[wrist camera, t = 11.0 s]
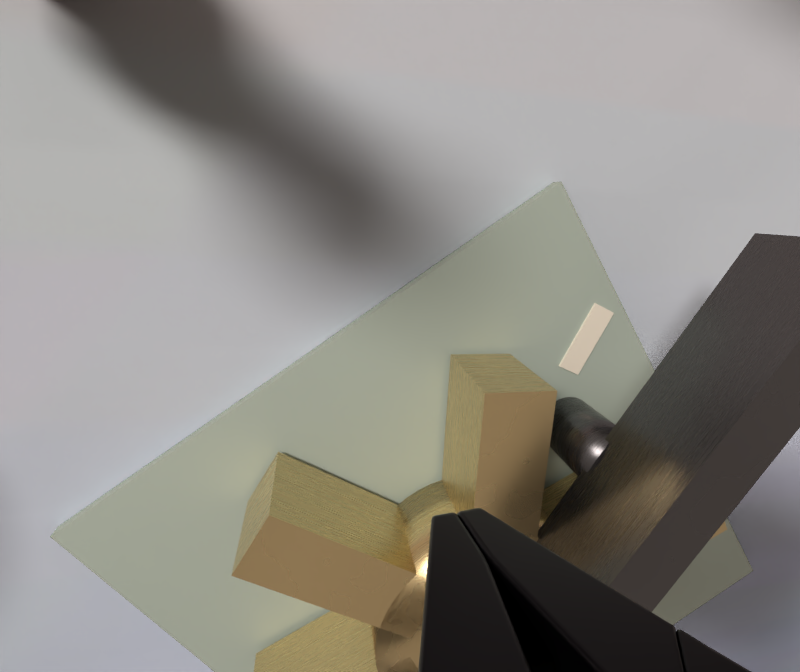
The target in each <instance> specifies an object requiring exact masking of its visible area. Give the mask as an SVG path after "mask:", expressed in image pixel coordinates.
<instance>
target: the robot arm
mask: <svg viewBox="0 0 800 672" xmlns="http://www.w3.org/2000/svg"><path fill="white" fill-rule="evenodd" d="M418 672H751V671H749V670H747V669H746V668H744V667H742V666H741V665H739V664H737V663H735V662H734V661H732V660H730V659H729V658H727V657H725V656H724V655H722V654H720V653H718V652H717V651H715V650H713V649H712V648H710V647H708V646H707V645H705V644H703V643H702V642H700V641H698V640H697V639H695V638H693V637H692V636H690V635H689V634H687V633H685V632H684V631H682V630H677V631H676V629H675V627H674V626H673V625H672V624H670V623H669V622H667V621H665V620H664V619H662V618H660V617H659V616H657V615H655V614H654V613H652V612H651V611H649V610H647V609H646V608H644V607H642V606H641V605H639V604H637V603H636V602H634V601H632V600H631V599H629V598H628V597H626V596H624V595H623V594H621V593H619V592H618V591H616V590H614V589H613V588H611V587H610V586H608V585H606V584H605V583H603V582H601V581H600V580H598V579H596V578H595V577H593V576H592V575H590V574H588V573H587V572H585V571H583V570H582V569H580V568H578V567H577V566H575V565H573V564H572V563H570V562H569V561H567V560H565V559H564V558H562V557H560V556H559V555H557V554H555V553H554V552H552V551H551V550H549V549H547V548H546V547H544V546H542V545H541V544H539V543H537V542H536V541H534V540H533V539H531V538H529V537H528V536H526V535H524V534H523V533H521V532H519V531H518V530H516V529H515V528H513V527H511V526H510V525H508V524H506V523H505V522H503V521H501V520H500V519H498V518H496V517H495V516H493V515H492V514H490V513H488V512H487V511H485V510H483V509H481V508H474V509H468V510H463V511H459V512H458V513H457V514H456V513H446V514H440V515H435V516H433V517H432V519H431V529H430V540H429V552H428V563H427V575H426V587H425V598H424V610H423V621H422V633H421V644H420V656H419V667H418Z"/></svg>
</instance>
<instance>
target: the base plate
mask: <svg viewBox="0 0 800 672" xmlns="http://www.w3.org/2000/svg"><path fill="white" fill-rule="evenodd" d="M451 354H511V355H512V356H514V357H515V358H516V359H517V360H519V361H520V362H521V363H522V364H524V365H525V366H526V367H528V368H529V369H530V370H531V371H533V372H534V373H535V374H537V375H538V376H539V377H540V378H542V379H543V380H544V381H545V382H547V383H548V384H549V385H551V386H552V387H553V388H554V389H556V390H557V398H556V401H557V400H559V399H561V398H565V397H576V398H579V399H581V400H583V401H584V402H585V403H587V404H588V405H589V406H591V407H592V408H593V409H595V410H596V411H598V412H599V413H600V414H602V415H603V416H604V417H606V418H607V419H608V420H610V421H611V422H612V423H614V424H615V425H616V423H617V422H618V421H619V419H620V418H621V417H622V415H623V414H624V412H625V411H626V410H627V408H628V407H629V406H630V404H631V403H632V401H633V400H634V399H635V397H636V396H637V395H638V393H639V392H640V391H641V389H642V388H643V386H644V385H645V384H646V382H647V381H648V380H649V378H650V377H651V375H652V374H653V373H654V369H653V367H652V365H651V363H650V361H649V359H648V357H647V355H646V353H645V350H644V348H643V346H642V344H641V342H640V340H639V338H638V336H637V334H636V332H635V330H634V328H633V326H632V324H631V322H630V320H629V318H628V316H627V314H626V312H625V310H624V308H623V306H622V304H621V302H620V300H619V298H618V296H617V294H616V292H615V290H614V288H613V286H612V284H611V282H610V280H609V278H608V275H607V273H606V271H605V269H604V267H603V265H602V263H601V261H600V259H599V257H598V255H597V253H596V251H595V249H594V247H593V245H592V243H591V241H590V239H589V237H588V235H587V233H586V231H585V229H584V227H583V225H582V223H581V221H580V219H579V217H578V215H577V213H576V211H575V209H574V207H573V205H572V203H571V200H570V198H569V196H568V194H567V192H566V190H565V188H564V186H563V184H562V182H553V183H552V184H551V185H549V186H548V187H546V188H545V189H543V190H542V191H541V192H539V193H538V194H536V195H535V196H533V197H532V198H530V199H529V200H528V201H526V202H525V203H523V204H522V205H520V206H519V207H517V208H516V209H515V210H513V211H512V212H510V213H509V214H507V215H506V216H505V217H503V218H502V219H500V220H499V221H497V222H496V223H494V224H493V225H492V226H490V227H489V228H487V229H486V230H484V231H483V232H482V233H480V234H479V235H477V236H476V237H474V238H473V239H471V240H470V241H469V242H467V243H466V244H464V245H463V246H461V247H460V248H458V249H457V250H456V251H454V252H453V253H451V254H450V255H448V256H447V257H446V258H444V259H443V260H441V261H440V262H438V263H437V264H435V265H434V266H433V267H431V268H430V269H428V270H427V271H425V272H424V273H422V274H421V275H420V276H418V277H417V278H415V279H414V280H412V281H411V282H410V283H408V284H407V285H405V286H404V287H402V288H401V289H399V290H398V291H397V292H395V293H394V294H392V295H391V296H389V297H388V298H387V299H385V300H384V301H382V302H381V303H379V304H378V305H376V306H375V307H374V308H372V309H371V310H369V311H368V312H366V313H365V314H363V315H362V316H361V317H359V318H358V319H356V320H355V321H353V322H352V323H351V324H349V325H348V326H346V327H345V328H343V329H342V330H340V331H339V332H338V333H336V334H335V335H333V336H332V337H330V338H329V339H327V340H326V341H325V342H323V343H322V344H320V345H319V346H317V347H316V348H315V349H313V350H312V351H310V352H309V353H307V354H306V355H304V356H303V357H302V358H300V359H299V360H297V361H296V362H294V363H293V364H291V365H290V366H289V367H287V368H286V369H284V370H283V371H281V372H280V373H279V374H277V375H276V376H274V377H273V378H271V379H270V380H268V381H267V382H266V383H264V384H263V385H261V386H260V387H258V388H257V389H256V390H254V391H253V392H251V393H250V394H248V395H247V396H245V397H244V398H243V399H241V400H240V401H238V402H237V403H235V404H234V405H232V406H231V407H230V408H228V409H227V410H225V411H224V412H222V413H221V414H220V415H218V416H217V417H215V418H214V419H212V420H211V421H209V422H208V423H207V424H205V425H204V426H202V427H201V428H199V429H198V430H196V431H195V432H194V433H192V434H191V435H189V436H188V437H186V438H185V439H184V440H182V441H181V442H179V443H178V444H176V445H175V446H173V447H172V448H171V449H169V450H168V451H166V452H165V453H163V454H162V455H160V456H159V457H158V458H156V459H155V460H153V461H152V462H150V463H149V464H148V465H146V466H145V467H143V468H142V469H140V470H139V471H137V472H136V473H135V474H133V475H132V476H130V477H129V478H127V479H126V480H125V481H123V482H122V483H120V484H119V485H117V486H116V487H114V488H113V489H112V490H110V491H109V492H107V493H106V494H104V495H103V496H101V497H100V498H99V499H97V500H96V501H94V502H93V503H91V504H90V505H89V506H87V507H86V508H84V509H83V510H81V511H80V512H78V513H77V514H76V515H74V516H73V517H71V518H70V519H68V520H67V521H65V522H64V523H63V524H61V525H60V526H58V527H57V529H56V530H55V531H54V532H53V534H52V535H51V536H50V537H51V538H52V539H53V540H55V541H56V542H57V543H58V544H60V545H61V546H62V547H63V548H64V549H66V550H67V551H68V552H69V553H71V554H72V555H73V556H74V557H75V558H77V559H78V560H79V561H80V562H81V563H83V564H84V565H85V566H86V567H88V568H89V569H90V570H91V571H92V572H94V573H95V574H96V575H97V576H99V577H100V578H101V579H102V580H103V581H105V582H106V583H107V584H108V585H109V586H111V587H112V588H113V589H114V590H116V591H117V592H118V593H119V594H120V595H122V596H123V597H124V598H125V599H127V600H128V601H129V602H130V603H131V604H133V605H134V606H135V607H136V608H137V609H139V610H140V611H141V612H142V613H144V614H145V615H146V616H147V617H148V618H150V619H151V620H152V621H153V622H155V623H156V624H157V625H158V626H159V627H161V628H162V629H163V630H164V631H165V632H167V633H168V634H169V635H170V636H172V637H173V638H174V639H175V640H176V641H178V642H179V643H180V644H181V645H183V646H184V647H185V648H186V649H187V650H189V651H190V652H191V653H192V654H194V655H195V656H196V657H197V658H198V659H200V660H201V661H202V662H203V663H204V664H206V665H207V666H208V667H209V668H211V669H212V670H213V671H214V672H254V666H255V658H256V653H258V652H260V651H261V650H263V649H265V648H267V647H268V646H270V645H272V644H274V643H275V642H277V641H279V640H281V639H282V638H284V637H286V636H288V635H289V634H291V633H293V632H295V631H296V630H298V629H300V628H302V627H303V626H305V625H307V624H309V623H310V622H312V621H314V620H316V619H317V618H319V617H321V616H323V615H324V614H326V613H328V612H330V610H327V609H324V608H321V607H319V606H316V605H313V604H310V603H307V602H304V601H301V600H299V599H296V598H293V597H290V596H287V595H284V594H282V593H279V592H276V591H273V590H270V589H267V588H265V587H262V586H259V585H256V584H253V583H250V582H247V581H245V580H242V579H239V578H236V577H233V576H231V575H232V570H233V566H234V561H235V557H236V552H237V548H238V543H239V539H240V534H241V530H242V525H243V521H244V516H245V512H246V507H247V503H248V500H249V499H250V497H251V495H252V494H253V492H254V490H255V489H256V487H257V485H258V484H259V482H260V480H261V479H262V477H263V476H264V474H265V472H266V471H267V469H268V467H269V466H270V464H271V462H272V461H273V459H274V457H275V456H276V454H277V453H278V452H280V453H283V454H285V455H287V456H289V457H292V458H294V459H296V460H298V461H300V462H303V463H305V464H307V465H309V466H312V467H314V468H316V469H318V470H321V471H323V472H325V473H327V474H330V475H332V476H334V477H336V478H339V479H341V480H343V481H345V482H348V483H350V484H352V485H354V486H357V487H359V488H361V489H363V490H366V491H368V492H370V493H372V494H375V495H377V496H379V497H381V498H384V499H386V500H388V501H390V502H393V503H395V504H397V505H399V504H400V503H401V502H402V501H403V500H405V499H406V498H407V497H409V496H410V495H412V494H413V493H415V492H416V491H418V490H420V489H422V488H424V487H426V486H428V485H430V484H432V483H435V482H438V481H441V480H442V467H443V453H444V439H445V425H446V411H447V397H448V383H449V369H450V355H451ZM571 473H573V471H572V469H571V468H570V467H569V466H568V465H567V464H566V463H565V462H564V461H563V460H562V459H561V458H560V457H559V456H558V455H557V454H556V453H555V452H554V451H553V450H552V449H551V448H550V449H549V456H548V463H547V470H546V478H545V485H544V489H545V488H547V487H549V486H550V485H552V484H554V483H556V482H557V481H559V480H561V479H563V478H564V477H566V476H568V475H570V474H571ZM725 524H726V527H727V530H726V531H724V532H722V533H721V534H719V535H717V536H715V537H714V538H712V539H710V540H709V541H708V543H707V544H706V545H705V546H704V548H703V549H702V550H701V551H700V553H699V554H698V555H697V556H696V558H695V559H694V560H693V561H692V563H691V564H690V565H689V566H688V568H687V569H686V570H685V571H684V573H683V574H682V575H681V576H680V578H679V579H678V580H677V581H676V583H675V584H674V585H673V586H672V588H671V589H670V590H669V591H668V593H667V594H666V595H665V596H664V598H663V599H662V600H661V601H660V603H659V604H658V605H657V606H656V608H655V609H654V610H653V611H652V613H654V614H655V615H657V616H659V617H660V618H662V619H664V620H665V621H667V622H669V623H670V624H672V625H674V624H675V623H677V622H678V621H680V620H681V619H682V618H684V617H685V616H687V615H688V614H690V613H691V612H693V611H694V610H696V609H697V608H699V607H700V606H702V605H703V604H705V603H706V602H708V601H709V600H711V599H712V598H714V597H715V596H717V595H718V594H719V593H721V592H722V591H724V590H725V589H727V588H728V587H730V586H731V585H733V584H734V583H736V582H737V581H739V580H740V579H742V578H743V577H745V576H746V575H748V574H749V573H751V572H752V571H753V569H752V567H751V565H750V563H749V561H748V559H747V557H746V555H745V553H744V551H743V549H742V547H741V545H740V543H739V541H738V539H737V537H736V535H735V533H734V531H733V529H732V527H731V525H730V523H729V521H728V519H726V520H725Z"/></svg>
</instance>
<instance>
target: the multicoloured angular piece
mask: <svg viewBox="0 0 800 672" xmlns="http://www.w3.org/2000/svg"><path fill="white" fill-rule="evenodd" d="M556 398H557V390H556V389H554V388H553V387H552V386H551V385H549V384H548V383H547V382H545V381H544V380H543V379H542V378H540V377H539V376H538V375H537V374H535V373H534V372H533V371H531V370H530V369H529V368H528V367H526V366H525V365H524V364H522V363H521V362H520V361H519V360H517V359H516V358H515V357H514V356H512V355H511V354H451V355H450V369H449V383H448V397H447V411H446V425H445V439H444V453H443V467H442V480H441V481H438V482H435V483H432V484H430V485H428V486H426V487H424V488H422V489H420V490H418V491H416V492H415V493H413V494H412V495H410V496H409V497H407V498H406V499H405V500H403V501H402V502H401V503H400V504H399V505H397V504H395V503H393V502H390V501H388V500H386V499H384V498H381V497H379V496H377V495H375V494H372V493H370V492H368V491H366V490H363V489H361V488H359V487H357V486H354V485H352V484H350V483H348V482H345V481H343V480H341V479H339V478H336V477H334V476H332V475H330V474H327V473H325V472H323V471H321V470H318V469H316V468H314V467H312V466H309V465H307V464H305V463H303V462H300V461H298V460H296V459H294V458H292V457H289V456H287V455H285V454H283V453H280V452H278V453H277V454H276V456H275V457H274V459H273V461H272V462H271V464H270V466H269V467H268V469H267V471H266V472H265V474H264V476H263V477H262V479H261V480H260V482H259V484H258V485H257V487H256V489H255V490H254V492H253V494H252V495H251V497H250V499H249V500H248V503H247V507H246V512H245V516H244V521H243V525H242V530H241V534H240V539H239V543H238V548H237V552H236V557H235V561H234V566H233V570H232V575H231V576H233V577H236V578H239V579H242V580H245V581H247V582H250V583H253V584H256V585H259V586H262V587H265V588H267V589H270V590H273V591H276V592H279V593H282V594H284V595H287V596H290V597H293V598H296V599H299V600H301V601H304V602H307V603H310V604H313V605H316V606H319V607H321V608H324V609H327V610H330V612H328V613H326V614H324V615H323V616H321V617H319V618H317V619H316V620H314V621H312V622H310V623H309V624H307V625H305V626H303V627H302V628H300V629H298V630H296V631H295V632H293V633H291V634H289V635H288V636H286V637H284V638H282V639H281V640H279V641H277V642H275V643H274V644H272V645H270V646H268V647H267V648H265V649H263V650H261V651H260V652H258V653H256V658H255V666H254V672H418V667H419V656H420V644H421V633H422V621H423V610H424V598H425V587H426V575H427V563H428V552H429V540H430V529H431V519H432V517H433V516H435V515H440V514H446V513H456V514H457V513H458V512H459V511H463V510H468V509H474V508H481V509H483V510H485V511H487V512H488V513H490V514H492V515H493V516H495V517H496V518H498V519H500V520H501V521H503V522H505V523H506V524H508V525H510V526H511V527H513V528H515V529H516V530H518V531H519V532H521V533H523V534H524V535H526V536H528V537H529V538H531V539H533V540H534V541H536V542H537V543H539V544H541V545H542V546H544V547H546V548H547V549H549V550H551V551H552V552H554V553H555V554H557V555H559V556H560V557H562V558H564V559H565V560H567V561H569V562H570V563H572V564H573V565H575V566H577V567H578V568H580V569H582V570H583V571H585V572H587V573H588V574H590V575H592V576H593V577H595V578H596V579H598V580H600V581H601V582H603V583H605V584H606V585H608V586H610V587H611V588H613V589H614V590H616V591H618V592H619V593H621V594H623V595H624V596H626V597H628V598H629V599H631V600H632V601H634V602H636V603H637V604H639V605H641V606H642V607H644V608H646V609H647V610H649V611H651V612H652V611H653V610H654V609H655V608H656V606H657V605H658V604H659V603H660V601H661V600H662V599H663V598H664V596H665V595H666V594H667V593H668V591H669V590H670V589H671V588H672V586H673V585H674V584H675V583H676V581H677V580H678V579H679V578H680V576H681V575H682V574H683V573H684V571H685V570H686V569H687V568H688V566H689V565H690V564H691V563H692V561H693V560H694V559H695V558H696V556H697V555H698V554H699V553H700V551H701V550H702V549H703V548H704V546H705V545H706V544H707V543H708V541H709V540H710V539H712V538H714V537H715V536H717V535H719V534H721V533H722V532H724V531H726V530H727V527H726V524H725V520H726V519H727V518H728V516H729V515H730V514H731V513H732V511H733V510H734V509H735V507H736V506H737V505H738V504H739V502H740V501H741V500H742V499H743V497H744V496H745V495H746V494H747V492H748V491H749V490H750V489H751V487H752V486H753V485H754V484H755V482H756V481H757V480H758V479H759V477H760V476H761V475H762V474H763V472H764V471H765V470H766V469H767V467H768V466H769V465H770V464H771V462H772V461H773V460H774V459H775V457H776V456H777V455H778V454H779V452H780V451H781V450H782V449H783V447H784V446H785V445H786V444H787V442H788V441H789V440H790V439H791V437H792V436H793V435H794V434H795V432H796V431H797V430H798V429H799V427H800V237H798V236H784V235H771V234H757V233H755V234H754V236H753V237H752V238H751V240H750V241H749V242H748V244H747V245H746V247H745V248H744V249H743V251H742V252H741V253H740V255H739V256H738V258H737V259H736V260H735V262H734V263H733V264H732V266H731V267H730V269H729V270H728V271H727V273H726V274H725V275H724V277H723V278H722V279H721V281H720V282H719V284H718V285H717V286H716V288H715V289H714V290H713V292H712V293H711V295H710V296H709V297H708V299H707V300H706V301H705V303H704V304H703V306H702V307H701V308H700V310H699V311H698V312H697V314H696V315H695V316H694V318H693V319H692V321H691V322H690V323H689V325H688V326H687V327H686V329H685V330H684V332H683V333H682V334H681V336H680V337H679V338H678V340H677V341H676V343H675V344H674V345H673V347H672V348H671V349H670V351H669V352H668V353H667V355H666V356H665V358H664V359H663V360H662V362H661V363H660V364H659V366H658V367H657V369H656V370H655V371H654V373H653V374H652V375H651V377H650V378H649V380H648V381H647V382H646V384H645V385H644V386H643V388H642V389H641V391H640V392H639V393H638V395H637V396H636V397H635V399H634V400H633V401H632V403H631V404H630V406H629V407H628V408H627V410H626V411H625V412H624V414H623V415H622V417H621V418H620V419H619V421H618V422H617V423H616V425H615V424H614V423H612V422H611V421H610V420H608V419H607V418H606V417H604V416H603V415H602V414H600V413H599V412H598V411H596V410H595V409H593V408H592V407H591V406H589V405H588V404H587V403H585V402H584V401H583V400H581V399H579V398H576V397H565V398H561V399H559V400H557V401H556ZM550 448H551V449H552V450H553V451H554V452H555V453H556V454H557V455H558V456H559V457H560V458H561V459H562V460H563V461H564V462H565V463H566V464H567V465H568V466H569V467H570V468H571V469H572V471H573V473H571V474H570V475H568V476H566V477H564V478H563V479H561V480H559V481H557V482H556V483H554V484H552V485H550V486H549V487H547V488H545V489H544V485H545V478H546V470H547V463H548V456H549V449H550Z"/></svg>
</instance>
